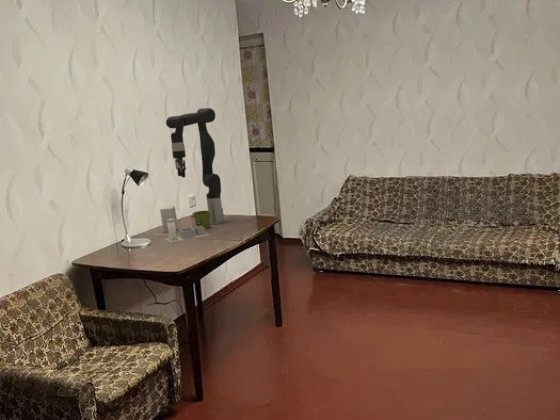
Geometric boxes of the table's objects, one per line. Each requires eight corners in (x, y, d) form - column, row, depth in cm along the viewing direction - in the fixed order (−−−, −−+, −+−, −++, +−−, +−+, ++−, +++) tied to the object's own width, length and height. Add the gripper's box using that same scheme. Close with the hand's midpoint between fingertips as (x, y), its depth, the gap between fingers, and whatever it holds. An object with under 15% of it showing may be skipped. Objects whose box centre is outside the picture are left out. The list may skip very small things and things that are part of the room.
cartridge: (171, 238, 313) (168, 218, 310) (178, 237, 312) (175, 218, 309) (168, 240, 309) (165, 220, 306) (175, 240, 308) (172, 220, 305)
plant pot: (190, 232, 332) (188, 214, 330) (200, 227, 343) (198, 210, 341) (207, 232, 328) (205, 214, 326) (216, 227, 338) (214, 210, 336)
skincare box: (178, 229, 342) (175, 206, 339) (175, 232, 336) (172, 208, 333) (166, 230, 343) (163, 206, 340) (162, 232, 337) (159, 209, 334)
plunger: (202, 232, 320) (201, 221, 318) (204, 233, 316) (203, 222, 315) (196, 233, 318) (195, 222, 317) (198, 235, 314) (196, 224, 313)
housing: (204, 234, 323) (203, 224, 322) (209, 237, 314) (208, 227, 313) (166, 241, 314) (164, 231, 313) (170, 244, 305) (168, 234, 304)
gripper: (187, 149, 311) (191, 176, 314) (181, 148, 324) (184, 174, 327) (175, 151, 308) (178, 178, 311) (169, 150, 321) (172, 176, 324)
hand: (181, 176), depth 319 cm, fingers open, 8 cm apart
